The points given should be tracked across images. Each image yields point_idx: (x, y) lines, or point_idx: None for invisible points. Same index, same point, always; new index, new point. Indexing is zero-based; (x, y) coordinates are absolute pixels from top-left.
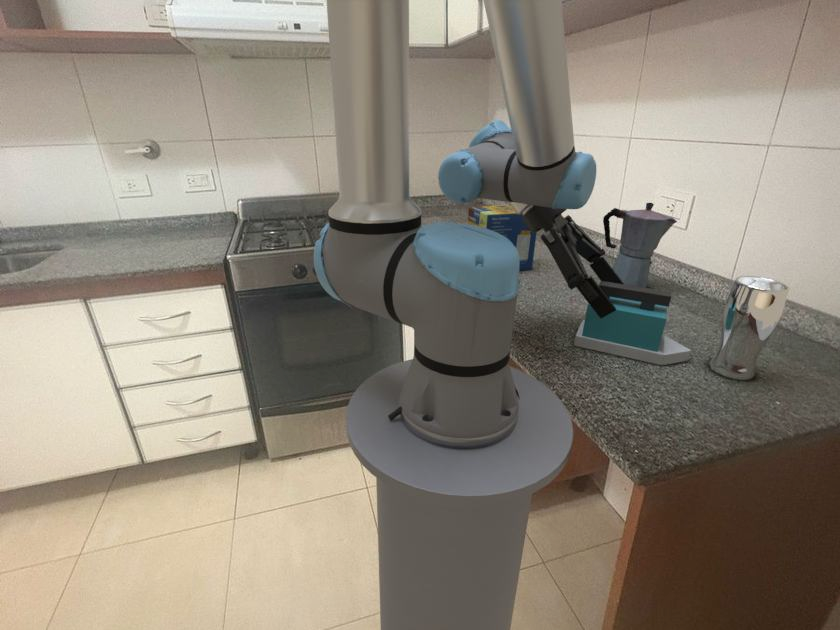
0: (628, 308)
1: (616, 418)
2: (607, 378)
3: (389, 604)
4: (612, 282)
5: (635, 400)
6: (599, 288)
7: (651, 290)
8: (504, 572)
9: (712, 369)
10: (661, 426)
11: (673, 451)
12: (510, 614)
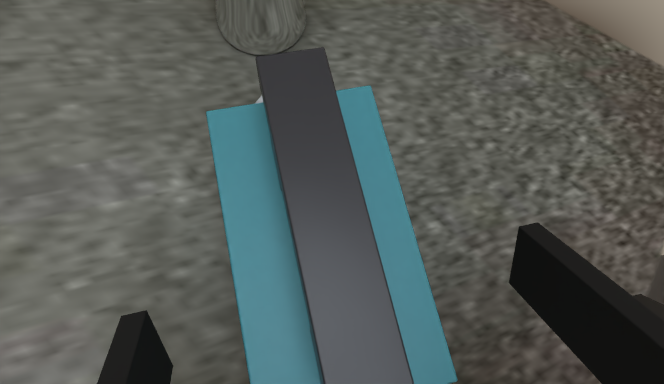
0: (371, 218)
1: (631, 159)
2: (509, 221)
3: None
4: (151, 381)
5: (545, 148)
6: (642, 309)
7: (298, 129)
8: None
9: (289, 47)
10: (586, 93)
11: (632, 67)
12: None
